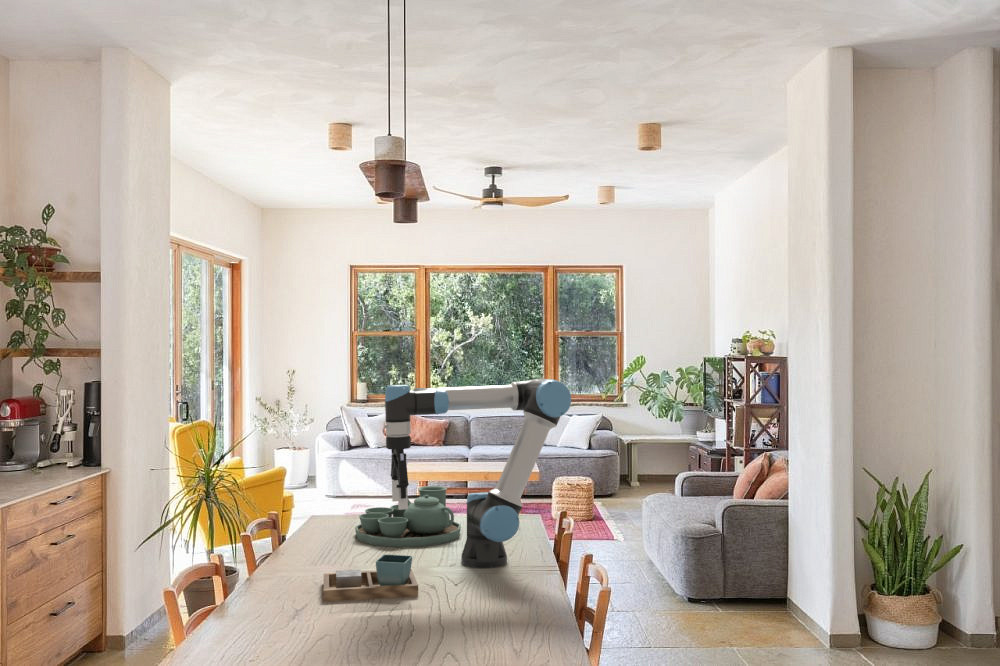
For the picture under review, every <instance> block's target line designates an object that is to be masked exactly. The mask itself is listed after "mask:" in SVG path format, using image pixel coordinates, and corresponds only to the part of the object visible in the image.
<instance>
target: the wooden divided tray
mask: <svg viewBox="0 0 1000 666" xmlns="http://www.w3.org/2000/svg"><path fill="white" fill-rule="evenodd" d="M361 576H362V579H361V587H351V588H336V572H323V597H322V598H323V602H324V603H325V602H339V601H340V602H341V601H358V600H377V599H396V598H397V599H398V598H411V597H413V598H414V597H419V584H418V582H417V579H416V576H415V574H414V572H413V569H412V568H411V571H410V575H409V578H408V581H407V583H406V585H388V586H380V585H379V582H378V579H377V571H376V570H364V571H361Z"/></svg>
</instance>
